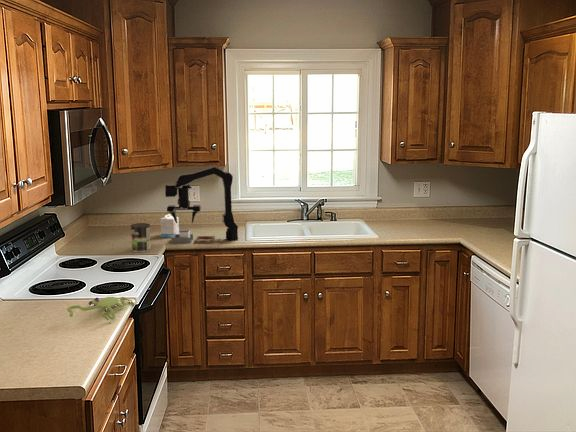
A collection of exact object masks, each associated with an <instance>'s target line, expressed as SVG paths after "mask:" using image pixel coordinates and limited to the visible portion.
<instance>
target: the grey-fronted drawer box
mask: <svg viewBox="0 0 576 432" xmlns="http://www.w3.org/2000/svg"><path fill="white" fill-rule="evenodd" d="M179 234H180V238H184V237H190V234H191V228H179Z"/></svg>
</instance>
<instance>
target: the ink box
mask: <svg viewBox="0 0 576 432" xmlns="http://www.w3.org/2000/svg"><path fill="white" fill-rule="evenodd" d="M176 217H177V223H176V222H175V220H174V217H173V216H172V214H171V213H167V214H166V215H164V217H160V236H161V238H170V239H171V238H172V236H173V235H174V234H179V231H180V225H179V224H180V223H179V221H180V220H179V216H176Z"/></svg>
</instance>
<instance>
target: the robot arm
mask: <svg viewBox="0 0 576 432" xmlns="http://www.w3.org/2000/svg"><path fill="white" fill-rule="evenodd" d="M212 175H215V176H217V177H219V178H221V181H222V186H223V196H224V214H223V213H222V214H221V216H222V219H221V221H222V223H223V224H224V226H225V227H226V231H225V239H226V241H238V240H239V226H238V224H237V223H236V222H235V219H234V214H233V212H232V211H233V209H232V185H233V178H234V177H233V175H232V173H230V172H229V171H223V170H222V169H220V168H218V167H216V166H211V167H208V168H204V169H202V170H198V171H196V172H191V173H189V172H188V173H181V174H179V175H178V176H177V181H176V182H175V183H174V184H165V187H164V189H165V190H164V196H165V198H174V197H176V196H178V199H177V205H178V206H176V204H175V205H173V204H172V205H171V204H170V205H168V206H167V207H166V212H167V213H168V212H169V213H168V214H170V215H171V216H172V217H174V220H175V222H176V223H177V217H178V216H177V211H192V214H191V224H193V223H194V220H195V216H196V214H197V213H199V212H200V211H202V206H201V205H200V204H195V205H192V206H191V201H190V197H189V196H190V195H189V189H192V186H191V185H190V183H191V182H193V181H195V180H198V179H202V178H205V177H208V176H212Z"/></svg>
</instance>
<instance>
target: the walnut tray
mask: <svg viewBox="0 0 576 432" xmlns="http://www.w3.org/2000/svg"><path fill="white" fill-rule="evenodd" d="M215 237H216V236H215V235H197V236H196V238H195V240H194V244H213V243H214V241H215V239H216V238H215Z"/></svg>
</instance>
